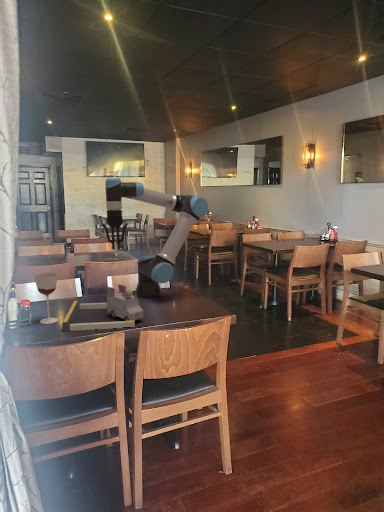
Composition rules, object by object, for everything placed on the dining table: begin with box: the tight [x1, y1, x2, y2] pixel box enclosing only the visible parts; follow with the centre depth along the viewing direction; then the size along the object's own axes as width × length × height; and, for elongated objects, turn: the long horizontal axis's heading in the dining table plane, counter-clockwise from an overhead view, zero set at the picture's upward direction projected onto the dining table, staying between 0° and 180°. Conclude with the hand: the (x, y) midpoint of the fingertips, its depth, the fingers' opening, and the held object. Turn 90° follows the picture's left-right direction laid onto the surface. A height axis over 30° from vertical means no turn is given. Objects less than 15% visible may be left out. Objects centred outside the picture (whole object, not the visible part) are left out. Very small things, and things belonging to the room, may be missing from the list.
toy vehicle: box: [106, 284, 145, 321], centre depth 180 cm, size 9×20×15 cm, turn 46°
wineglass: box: [34, 272, 59, 325], centre depth 176 cm, size 9×10×22 cm
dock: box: [62, 300, 136, 332], centre depth 182 cm, size 31×32×4 cm
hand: (116, 255), depth 193 cm, fingers closed
